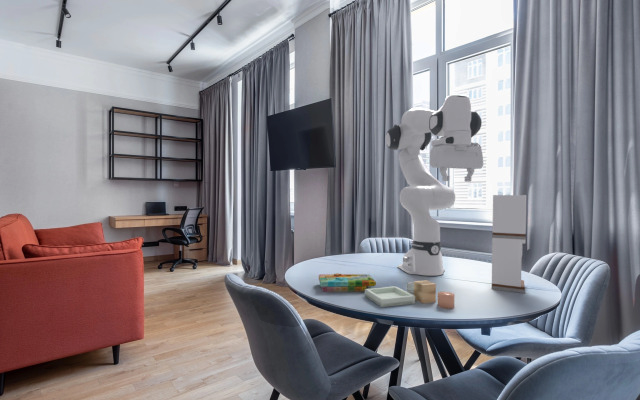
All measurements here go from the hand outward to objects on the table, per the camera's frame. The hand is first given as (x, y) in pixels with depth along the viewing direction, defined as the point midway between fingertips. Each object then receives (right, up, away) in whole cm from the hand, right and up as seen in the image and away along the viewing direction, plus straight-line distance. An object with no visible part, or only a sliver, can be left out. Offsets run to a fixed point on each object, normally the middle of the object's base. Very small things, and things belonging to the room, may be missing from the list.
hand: (457, 181), depth 121 cm
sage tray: (-24, -40, -5) cm, 47 cm away
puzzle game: (-38, -40, +10) cm, 56 cm away
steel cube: (-14, -40, +2) cm, 42 cm away
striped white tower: (+24, -40, +11) cm, 48 cm away
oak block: (-13, -40, -5) cm, 42 cm away
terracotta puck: (-8, -40, -11) cm, 42 cm away
